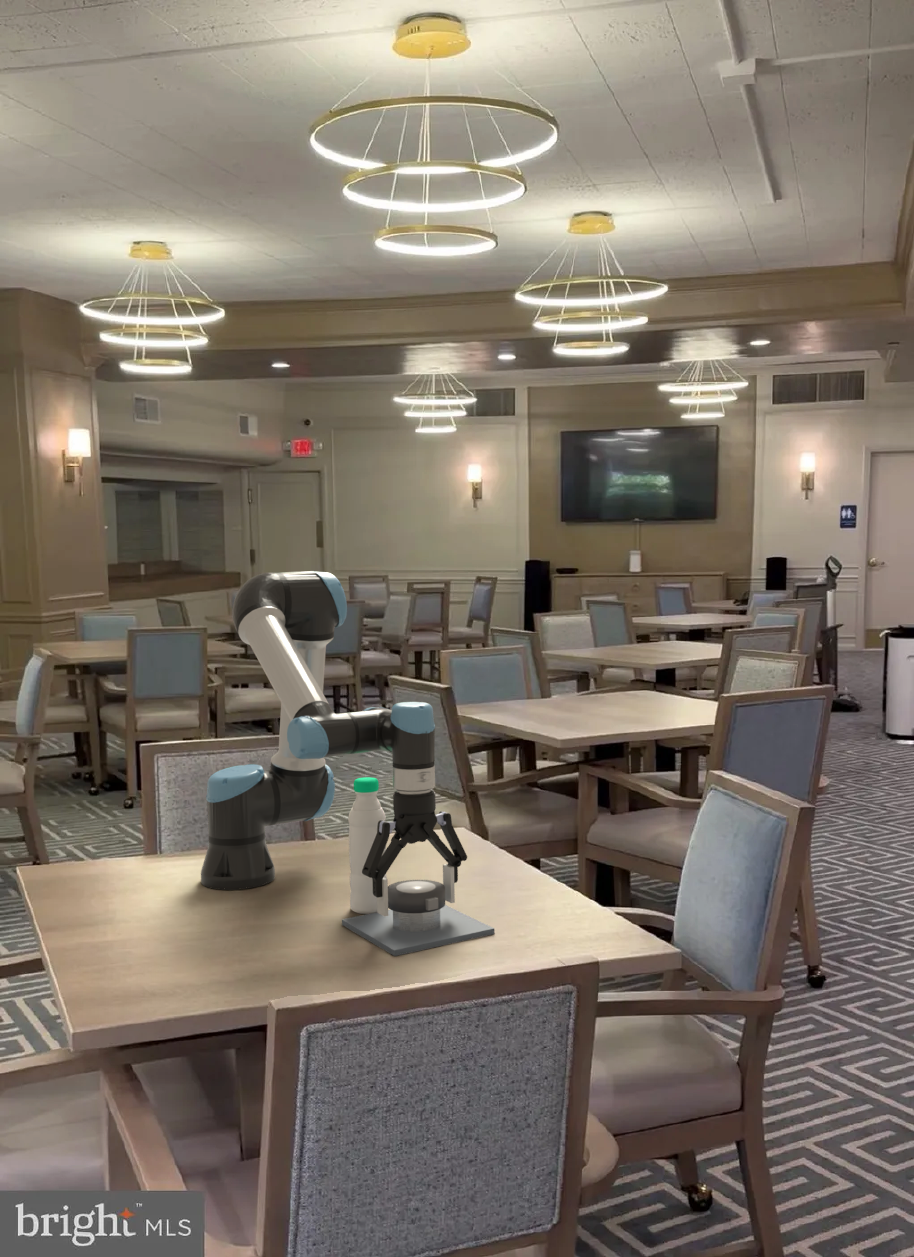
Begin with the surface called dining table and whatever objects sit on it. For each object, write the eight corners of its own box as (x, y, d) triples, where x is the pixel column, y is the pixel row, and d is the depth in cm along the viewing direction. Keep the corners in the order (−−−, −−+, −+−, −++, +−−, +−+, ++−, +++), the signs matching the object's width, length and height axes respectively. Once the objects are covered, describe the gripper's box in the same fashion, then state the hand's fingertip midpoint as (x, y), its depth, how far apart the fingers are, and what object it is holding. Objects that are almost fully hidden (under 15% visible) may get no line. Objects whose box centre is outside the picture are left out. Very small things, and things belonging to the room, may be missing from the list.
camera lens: (374, 914, 205) (374, 883, 205) (424, 904, 211) (423, 874, 211) (407, 932, 195) (407, 900, 195) (459, 921, 201) (458, 890, 200)
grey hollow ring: (384, 921, 204) (384, 902, 204) (425, 913, 209) (425, 894, 209) (407, 934, 197) (407, 914, 197) (449, 925, 202) (448, 906, 201)
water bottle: (381, 915, 211) (379, 782, 210) (345, 914, 213) (342, 781, 211) (391, 904, 218) (389, 775, 217) (356, 902, 220) (353, 774, 218)
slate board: (341, 924, 206) (341, 919, 206) (436, 905, 217) (436, 900, 217) (394, 956, 189) (394, 950, 189) (494, 933, 200) (494, 928, 200)
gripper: (360, 802, 192) (363, 925, 193) (484, 785, 205) (486, 900, 206) (341, 795, 198) (344, 914, 199) (462, 778, 211) (464, 891, 213)
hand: (416, 907), depth 203 cm, fingers open, 13 cm apart
